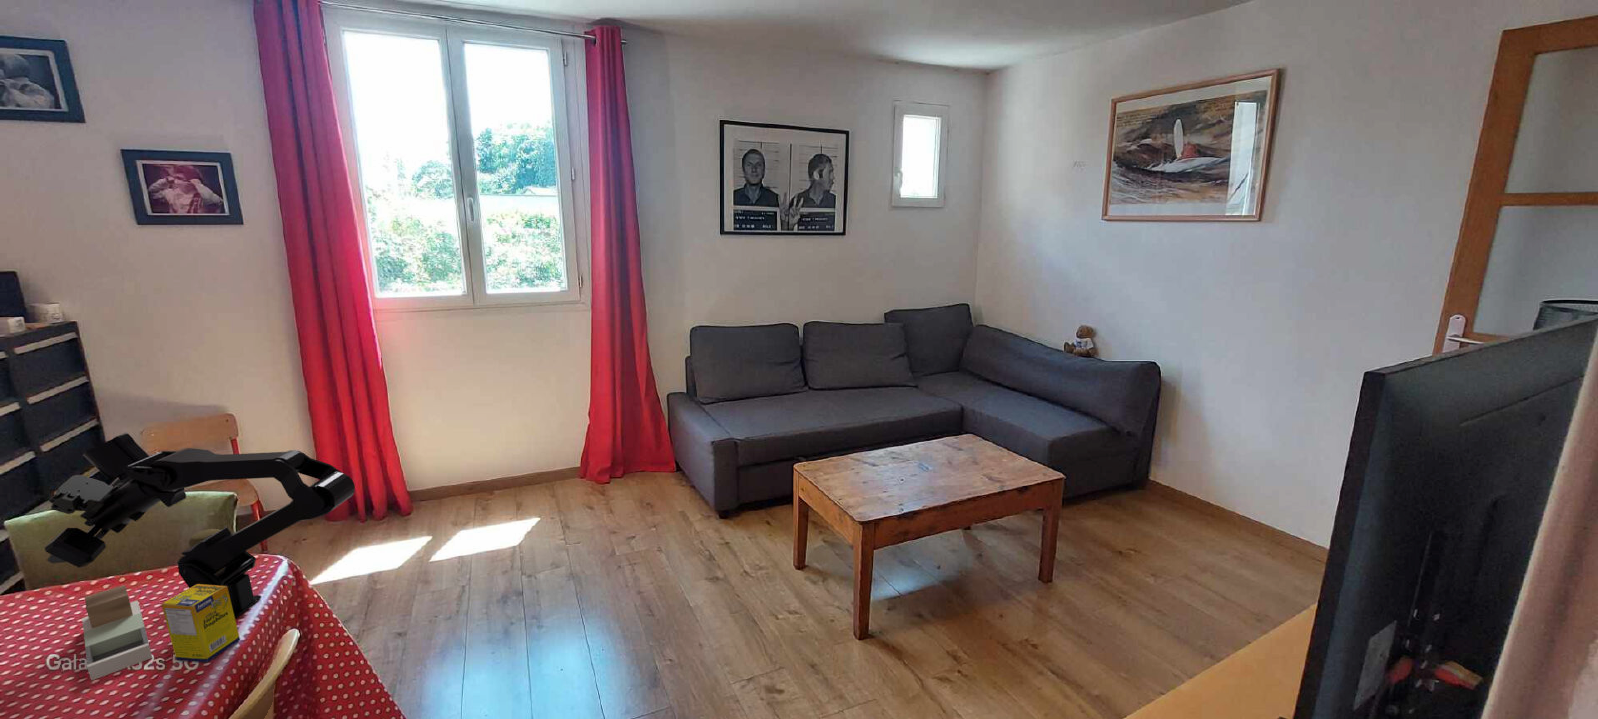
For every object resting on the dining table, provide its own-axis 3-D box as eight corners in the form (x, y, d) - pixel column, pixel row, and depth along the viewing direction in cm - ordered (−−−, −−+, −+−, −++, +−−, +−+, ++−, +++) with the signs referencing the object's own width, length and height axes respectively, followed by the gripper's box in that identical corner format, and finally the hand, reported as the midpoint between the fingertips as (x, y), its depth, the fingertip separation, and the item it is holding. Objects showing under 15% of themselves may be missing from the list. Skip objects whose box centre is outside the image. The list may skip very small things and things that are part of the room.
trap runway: (84, 622, 116) (81, 610, 116) (139, 604, 122) (135, 592, 121) (91, 680, 102) (87, 667, 102) (152, 657, 107) (148, 644, 107)
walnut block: (90, 616, 114) (84, 596, 113) (130, 603, 118) (125, 584, 117) (92, 628, 111) (86, 608, 110) (132, 614, 114) (127, 595, 114)
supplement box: (241, 640, 112) (228, 584, 109) (207, 663, 106) (192, 606, 103) (210, 637, 112) (197, 582, 110) (175, 661, 107) (160, 603, 104)
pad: (87, 644, 111) (83, 631, 110) (144, 624, 116) (140, 612, 115) (89, 659, 107) (85, 646, 106) (147, 638, 112) (144, 626, 111)
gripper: (123, 438, 118) (58, 482, 118) (46, 506, 102) (-28, 556, 103) (183, 474, 123) (121, 516, 124) (119, 544, 108) (49, 591, 109)
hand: (69, 542), depth 115 cm, fingers open, 9 cm apart
